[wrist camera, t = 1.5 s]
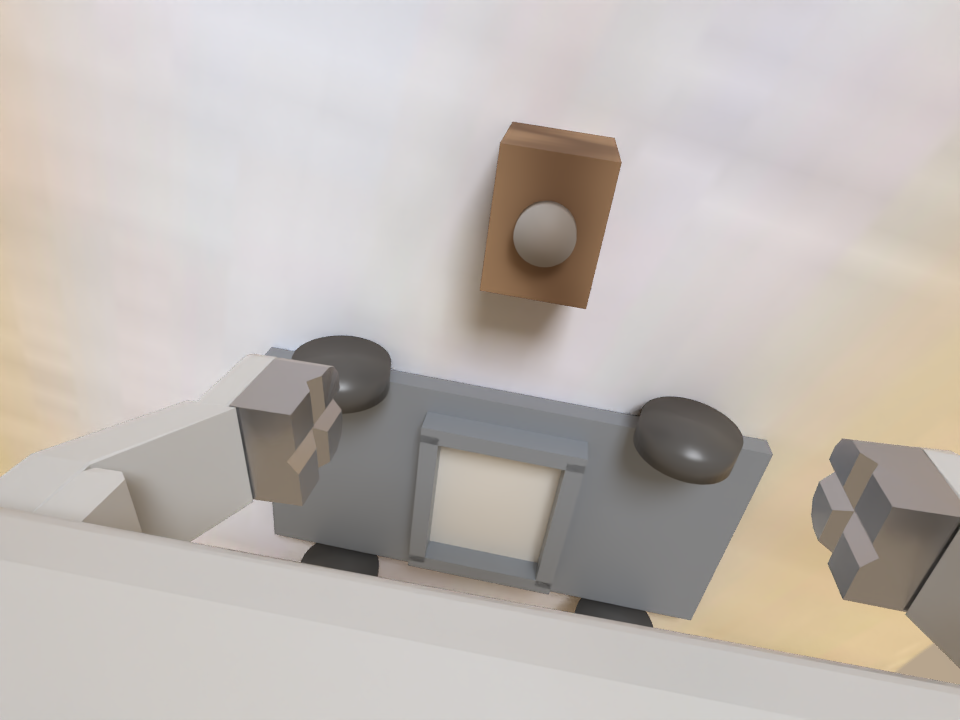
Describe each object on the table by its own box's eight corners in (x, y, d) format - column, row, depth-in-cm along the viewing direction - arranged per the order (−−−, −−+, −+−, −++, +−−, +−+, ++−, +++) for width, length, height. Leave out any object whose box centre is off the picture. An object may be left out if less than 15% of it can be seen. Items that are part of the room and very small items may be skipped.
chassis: (283, 538, 42) (249, 597, 38) (270, 321, 33) (224, 366, 29) (680, 620, 41) (692, 692, 36) (778, 415, 32) (809, 478, 27)
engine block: (494, 249, 29) (477, 298, 24) (512, 121, 26) (497, 147, 21) (584, 265, 29) (586, 317, 24) (614, 137, 26) (623, 167, 21)
